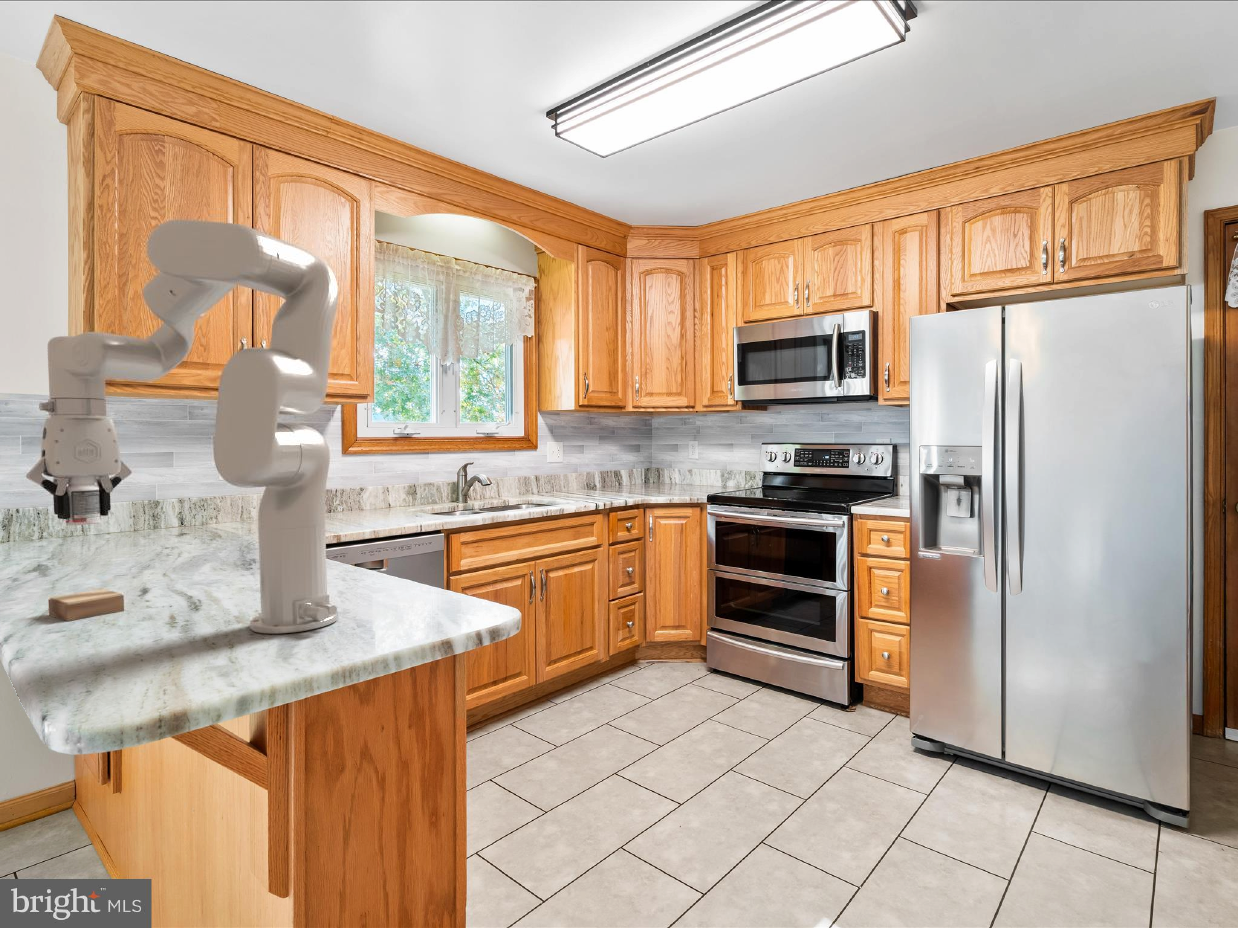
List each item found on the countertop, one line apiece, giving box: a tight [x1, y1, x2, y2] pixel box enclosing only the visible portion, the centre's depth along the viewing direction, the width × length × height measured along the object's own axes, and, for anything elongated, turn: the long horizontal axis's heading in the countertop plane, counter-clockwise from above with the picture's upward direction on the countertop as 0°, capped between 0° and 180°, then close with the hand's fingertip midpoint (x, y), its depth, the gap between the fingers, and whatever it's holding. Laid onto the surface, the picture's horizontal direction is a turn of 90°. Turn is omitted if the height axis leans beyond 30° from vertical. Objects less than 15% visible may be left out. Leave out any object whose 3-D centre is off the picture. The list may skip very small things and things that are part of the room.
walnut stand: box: [47, 588, 125, 622], centre depth 116 cm, size 8×8×3 cm
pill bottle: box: [65, 476, 102, 526], centre depth 116 cm, size 5×5×8 cm
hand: (83, 515), depth 116 cm, fingers closed on pill bottle, 4 cm apart
